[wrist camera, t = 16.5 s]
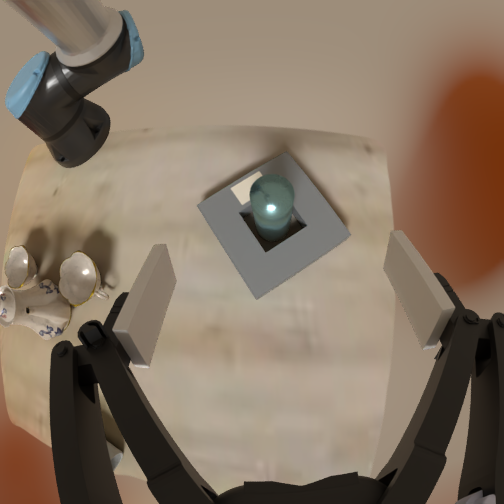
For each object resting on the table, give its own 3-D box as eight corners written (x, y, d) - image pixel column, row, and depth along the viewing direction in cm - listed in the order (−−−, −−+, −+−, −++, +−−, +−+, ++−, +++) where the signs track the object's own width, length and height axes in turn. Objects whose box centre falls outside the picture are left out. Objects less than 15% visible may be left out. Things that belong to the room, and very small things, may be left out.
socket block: (201, 212, 44) (196, 205, 41) (286, 160, 45) (286, 150, 42) (257, 299, 41) (255, 298, 38) (346, 239, 42) (351, 234, 39)
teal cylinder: (249, 221, 43) (240, 188, 32) (277, 203, 44) (277, 166, 32) (268, 248, 42) (265, 223, 31) (295, 229, 43) (303, 200, 31)
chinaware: (123, 254, 46) (65, 214, 30) (115, 352, 41) (48, 350, 25) (25, 255, 48) (-28, 229, 32) (16, 330, 43) (-42, 319, 27)
